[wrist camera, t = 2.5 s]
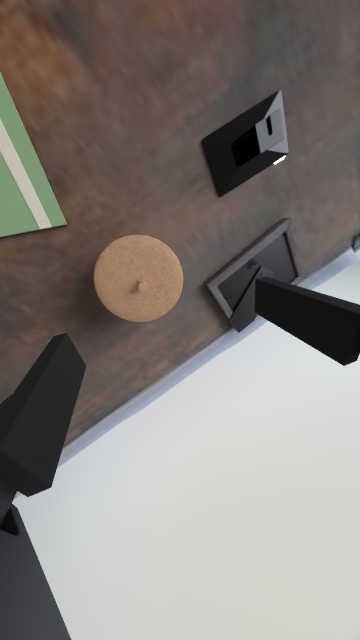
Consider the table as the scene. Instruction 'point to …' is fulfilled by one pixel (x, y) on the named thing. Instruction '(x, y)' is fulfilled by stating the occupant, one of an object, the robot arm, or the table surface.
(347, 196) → the table surface
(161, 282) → the trinket box
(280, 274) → the picture frame
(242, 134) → the black mounting bracket
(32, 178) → the towel
